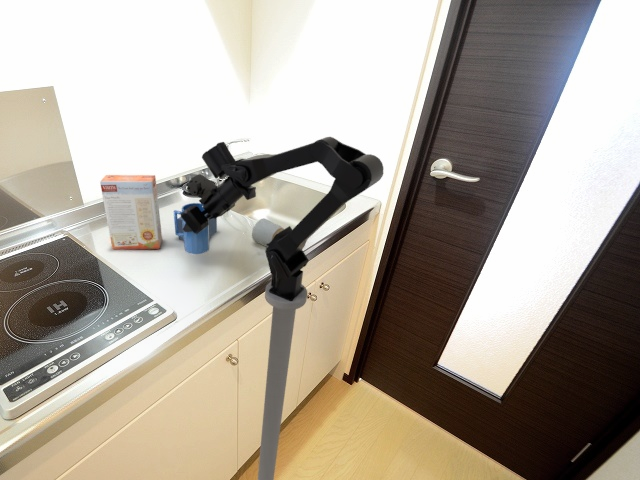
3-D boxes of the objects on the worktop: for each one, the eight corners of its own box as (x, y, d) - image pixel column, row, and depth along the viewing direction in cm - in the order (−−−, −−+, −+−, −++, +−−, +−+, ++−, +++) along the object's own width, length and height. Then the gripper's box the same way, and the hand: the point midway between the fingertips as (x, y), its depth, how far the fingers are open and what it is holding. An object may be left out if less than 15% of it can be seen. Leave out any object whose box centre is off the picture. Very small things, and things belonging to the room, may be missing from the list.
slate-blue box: (195, 227, 122) (195, 207, 118) (216, 232, 119) (216, 212, 115) (169, 246, 110) (167, 225, 106) (191, 252, 107) (190, 230, 103)
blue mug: (213, 245, 103) (212, 205, 96) (200, 256, 97) (199, 215, 91) (183, 237, 106) (180, 199, 100) (169, 247, 101) (165, 207, 95)
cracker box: (162, 240, 113) (156, 174, 102) (159, 250, 108) (152, 181, 97) (117, 240, 112) (105, 173, 101) (111, 249, 107) (99, 180, 96)
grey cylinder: (271, 254, 107) (273, 230, 103) (250, 244, 112) (252, 221, 108) (292, 242, 114) (295, 220, 110) (272, 234, 118) (274, 212, 115)
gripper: (225, 157, 95) (191, 191, 105) (185, 177, 81) (150, 214, 90) (251, 191, 96) (215, 221, 106) (216, 217, 82) (179, 249, 92)
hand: (191, 225), depth 98 cm, fingers closed on blue mug, 7 cm apart
